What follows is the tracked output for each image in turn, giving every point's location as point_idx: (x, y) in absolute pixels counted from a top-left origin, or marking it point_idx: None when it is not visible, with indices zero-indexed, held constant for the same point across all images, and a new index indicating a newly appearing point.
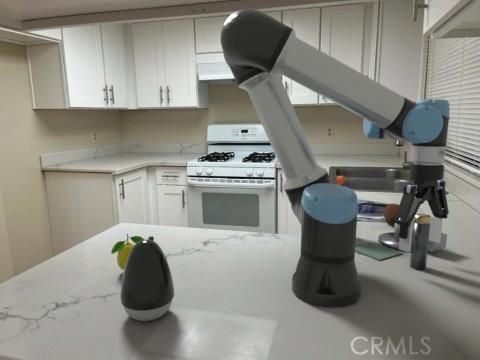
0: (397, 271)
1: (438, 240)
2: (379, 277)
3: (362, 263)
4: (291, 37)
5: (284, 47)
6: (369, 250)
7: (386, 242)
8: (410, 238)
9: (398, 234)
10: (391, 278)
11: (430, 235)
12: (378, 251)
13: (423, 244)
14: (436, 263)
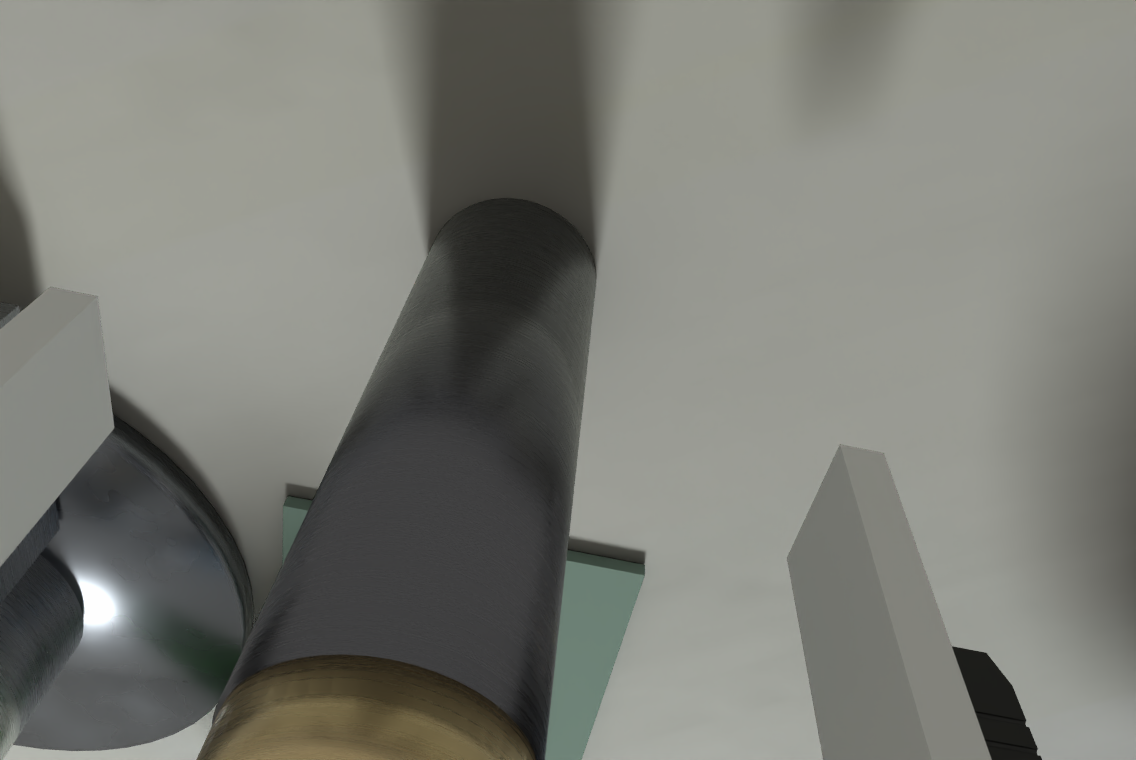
0: (786, 378)
1: (76, 322)
2: (1063, 436)
3: None
4: None
5: None
6: None
7: (209, 668)
8: (915, 612)
9: (44, 682)
10: (1019, 356)
11: (68, 463)
12: None
13: (539, 411)
14: (211, 173)
